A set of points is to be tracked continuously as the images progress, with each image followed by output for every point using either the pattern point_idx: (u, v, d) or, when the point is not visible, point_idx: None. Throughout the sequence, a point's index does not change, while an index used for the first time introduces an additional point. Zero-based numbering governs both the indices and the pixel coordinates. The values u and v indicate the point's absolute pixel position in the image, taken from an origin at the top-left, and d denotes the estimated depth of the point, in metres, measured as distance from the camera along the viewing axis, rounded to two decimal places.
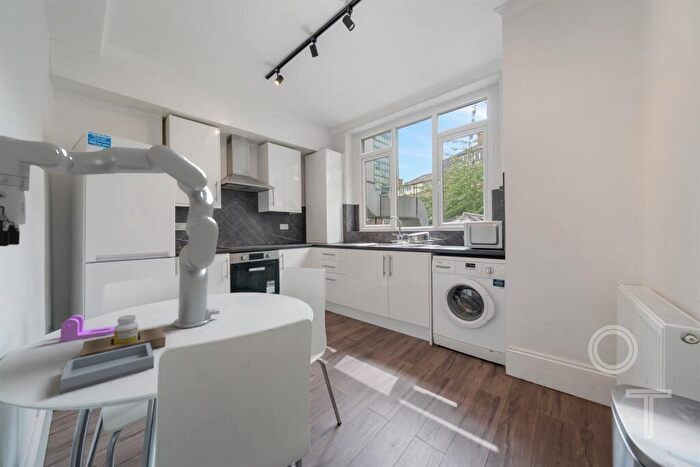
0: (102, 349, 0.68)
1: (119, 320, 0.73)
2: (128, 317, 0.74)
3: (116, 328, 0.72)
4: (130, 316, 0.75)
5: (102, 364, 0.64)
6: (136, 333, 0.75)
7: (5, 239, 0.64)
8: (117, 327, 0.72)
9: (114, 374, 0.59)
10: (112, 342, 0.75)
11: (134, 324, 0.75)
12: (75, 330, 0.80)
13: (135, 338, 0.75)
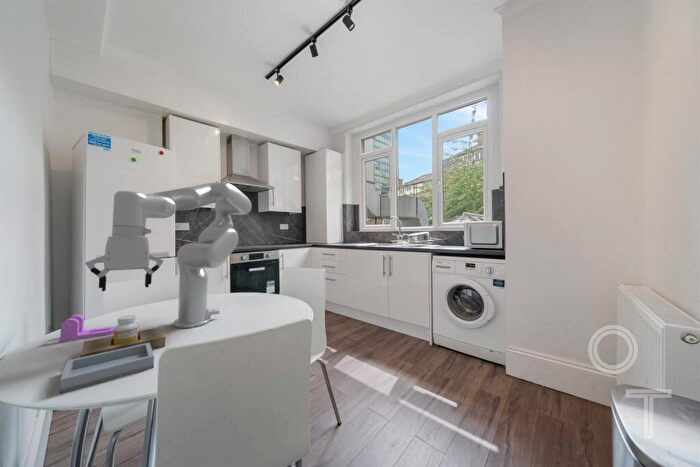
0: (102, 349, 0.68)
1: (119, 320, 0.73)
2: (128, 317, 0.74)
3: (116, 328, 0.72)
4: (130, 316, 0.75)
5: (102, 364, 0.64)
6: (136, 333, 0.75)
7: None
8: (117, 327, 0.72)
9: (114, 374, 0.59)
10: (112, 342, 0.75)
11: (134, 324, 0.75)
12: (75, 330, 0.80)
13: (135, 338, 0.75)
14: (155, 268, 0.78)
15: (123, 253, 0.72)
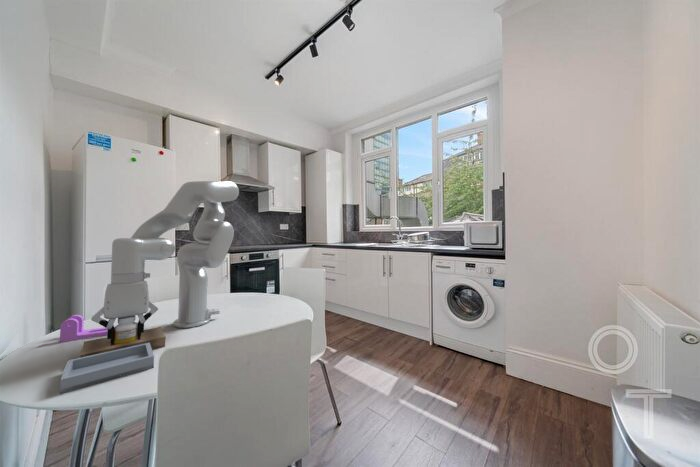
0: (102, 349, 0.68)
1: (119, 320, 0.73)
2: (128, 317, 0.74)
3: (116, 328, 0.72)
4: (130, 316, 0.75)
5: (102, 364, 0.64)
6: (136, 333, 0.75)
7: None
8: (117, 327, 0.72)
9: (114, 374, 0.59)
10: (112, 342, 0.75)
11: (134, 324, 0.75)
12: (74, 330, 0.80)
13: (135, 338, 0.75)
14: (147, 316, 0.77)
15: (122, 301, 0.72)
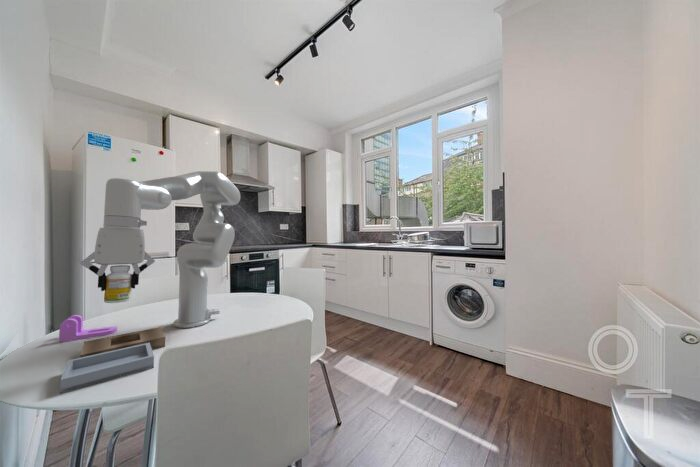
0: (102, 349, 0.68)
1: (112, 267, 0.66)
2: (122, 266, 0.68)
3: (108, 276, 0.66)
4: (124, 265, 0.69)
5: (102, 364, 0.64)
6: (130, 284, 0.68)
7: None
8: (109, 275, 0.66)
9: (114, 374, 0.59)
10: (112, 342, 0.75)
11: (127, 274, 0.68)
12: (74, 330, 0.80)
13: (128, 289, 0.68)
14: (143, 267, 0.71)
15: (115, 246, 0.66)
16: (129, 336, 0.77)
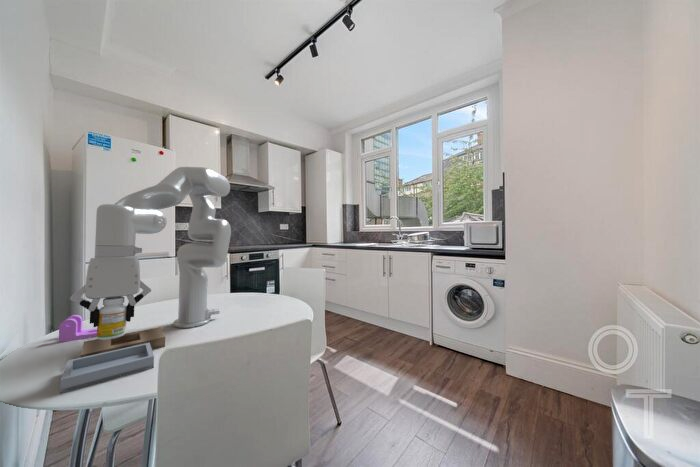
0: (102, 349, 0.68)
1: (105, 301, 0.61)
2: (116, 298, 0.63)
3: (101, 310, 0.61)
4: (118, 297, 0.64)
5: (102, 364, 0.64)
6: (125, 317, 0.64)
7: None
8: (102, 309, 0.61)
9: (114, 374, 0.59)
10: (112, 342, 0.75)
11: (122, 306, 0.63)
12: (73, 330, 0.80)
13: (123, 323, 0.63)
14: (138, 298, 0.66)
15: (108, 278, 0.61)
16: (129, 336, 0.77)
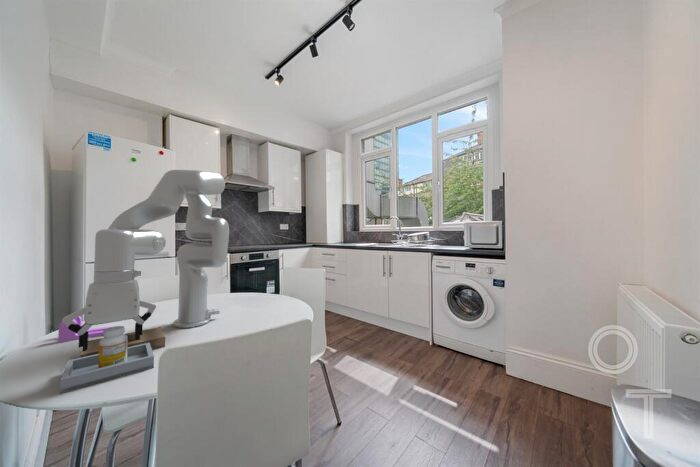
0: None
1: (105, 333, 0.61)
2: (116, 329, 0.63)
3: (101, 342, 0.61)
4: (118, 327, 0.64)
5: None
6: (125, 347, 0.64)
7: None
8: (102, 341, 0.61)
9: (114, 374, 0.59)
10: None
11: (122, 337, 0.63)
12: None
13: (124, 353, 0.64)
14: (146, 316, 0.67)
15: (107, 304, 0.61)
16: (129, 336, 0.77)
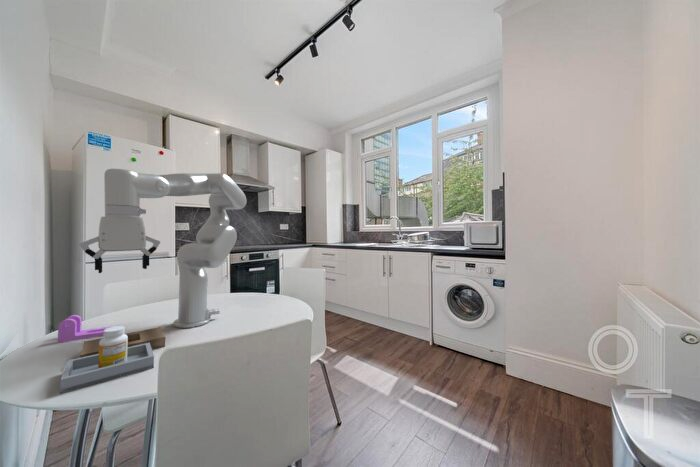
0: None
1: (105, 332, 0.61)
2: (116, 329, 0.63)
3: (101, 342, 0.61)
4: (118, 327, 0.64)
5: None
6: (125, 347, 0.64)
7: None
8: (102, 341, 0.61)
9: (114, 374, 0.59)
10: None
11: (122, 337, 0.63)
12: (72, 330, 0.80)
13: (124, 353, 0.64)
14: (152, 249, 0.76)
15: (118, 234, 0.70)
16: (129, 336, 0.77)
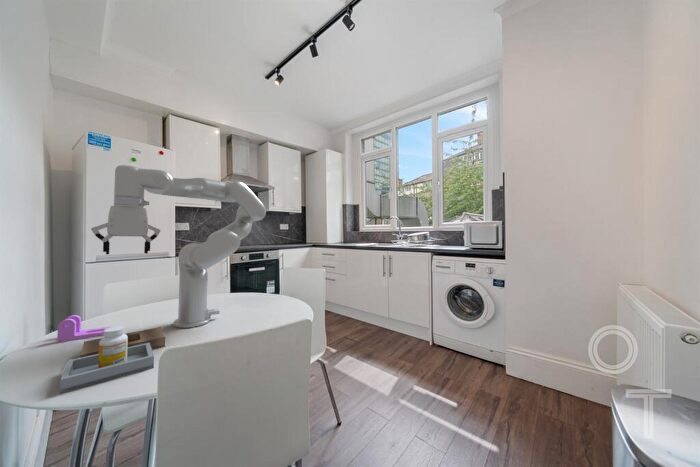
0: None
1: (105, 332, 0.61)
2: (116, 329, 0.63)
3: (101, 342, 0.61)
4: (118, 327, 0.64)
5: None
6: (125, 347, 0.64)
7: None
8: (102, 341, 0.61)
9: (114, 374, 0.59)
10: None
11: (122, 337, 0.63)
12: (72, 330, 0.80)
13: (124, 353, 0.64)
14: (153, 237, 0.87)
15: (124, 221, 0.80)
16: (129, 336, 0.77)
